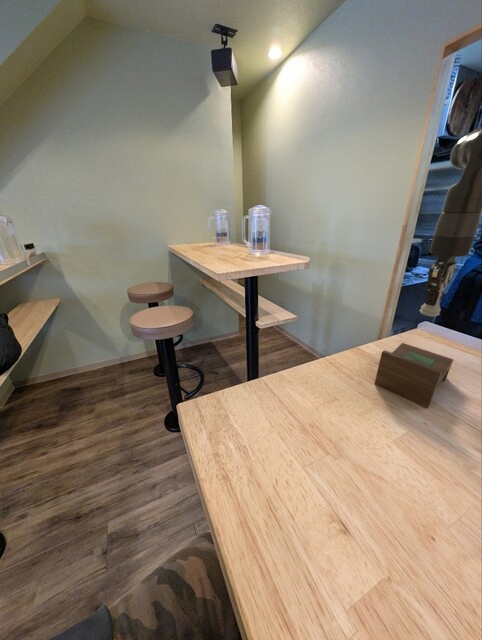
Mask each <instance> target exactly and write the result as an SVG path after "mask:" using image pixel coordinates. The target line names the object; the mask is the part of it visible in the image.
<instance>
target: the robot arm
mask: <svg viewBox="0 0 482 640" xmlns="http://www.w3.org/2000/svg"><path fill="white" fill-rule="evenodd" d="M449 159H450V165H452V168H454V169H456V170H460V171H463V172H462V175H461V176H460V178H459V180H458V182H456V183H454V184H452V185H451V186H450V187H449V188H448V190H447V192H446V195H445V197H444V201H443V204H442V208H441V212H440V215H439V218H438V219H437V221H436V224H435V228H434V233H433V236H432V239H431V244H430V247H429V250H428V251H429V253H430V254H431V255H434V256H437V258H436V261H433V263H432V265H431V267H430V269H428V275H427V281H426V287H425V289H426V290H427V295H426V297H425V302H424V303H425V304H427V305H431V306H435V305H436V303H437V300H438V297H439V293H440V291H441V290H442V289H441V288H442V286H443V285H444V288H447V286H448V284H449V283H451V279H452V276H453V273H454V272H455V269H456V267H457V265H458V261H457V260H456V258H461V257H466V256H468V255H469V253H470V252H471V249H472V244H473V243H474V239H475V236H476V235H477V234H476V233H477V231H478V228H479V225H480V220H481V216H482V126H480V127H478V128H476V129H473V130H472V131H471V132H469V133H467V134H466V135H464V136H462V137H461V138H460V139H459V140H458V141H457V143H455V144H454V146H453V148H452V150H451V151H450V155H449ZM433 283H434V285H435V283H436V284H437V286H434V285H433ZM444 291H445V290H444ZM444 291H442V293H441V294H442V295H441V296H440V300H439V302H441V300H442V298H443V294H444Z"/></svg>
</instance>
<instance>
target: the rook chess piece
mask: <svg viewBox="0 0 482 640" xmlns="http://www.w3.org/2000/svg"><path fill="white" fill-rule="evenodd" d="M433 285H434V283H433ZM434 286H437V284H436V283H435V285H434ZM441 289H442V290H441V291H440V293H439V297H438V300H437V303H436V305H435V306H431V305H427V304H425V302H424V303H423V304H422V305H421V306H420V309H419V312H420V314H422V315H423V316H426V317H438V316H440V315H441V313H440V312H441V310H442V309H441V305H440V301H441V300H440V296H441V295H442V294H441V293H442V291H445V290H446V289H445V288H444V285H443V286H442V288H441ZM442 296H443V295H442ZM439 300H440V301H439Z"/></svg>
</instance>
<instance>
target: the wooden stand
mask: <svg viewBox="0 0 482 640" xmlns="http://www.w3.org/2000/svg"><path fill="white" fill-rule="evenodd" d="M454 360H455V359H454V358H450V357H447V356H444V355H442V354H438V353H436V352H432V351H429V350H426V349H423V348H420V347H417V346H413V345H411V344H408V343H405V342H402V343H400V344H399V345H398V346H397V347H396V348H395V349H394V350H392V352H391V351H389V350H386V349H384V350H382V351H381V354H380V358H379V362H378V367H377V372H376V375H375V378H374V379H375V380H374V385H376V386H378V387H380V388H383V389H385V390H387V391H389V392H390V393H393V394H395V395H397V396H399V397H402V398H404V399H406V400H409V401H411V402H413V403H415V404H417V405H419V406H421V407H423V408H424V409H425V408H426V409H429V408H430V406H431V404H432V402H433V398H434V396H435V393H436V391H437V388H438V387H439V385H440V383H441V382H445V381H446V380H447V378H448V376H449V372H450V370H451V368H452V366H453V363H454Z"/></svg>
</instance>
